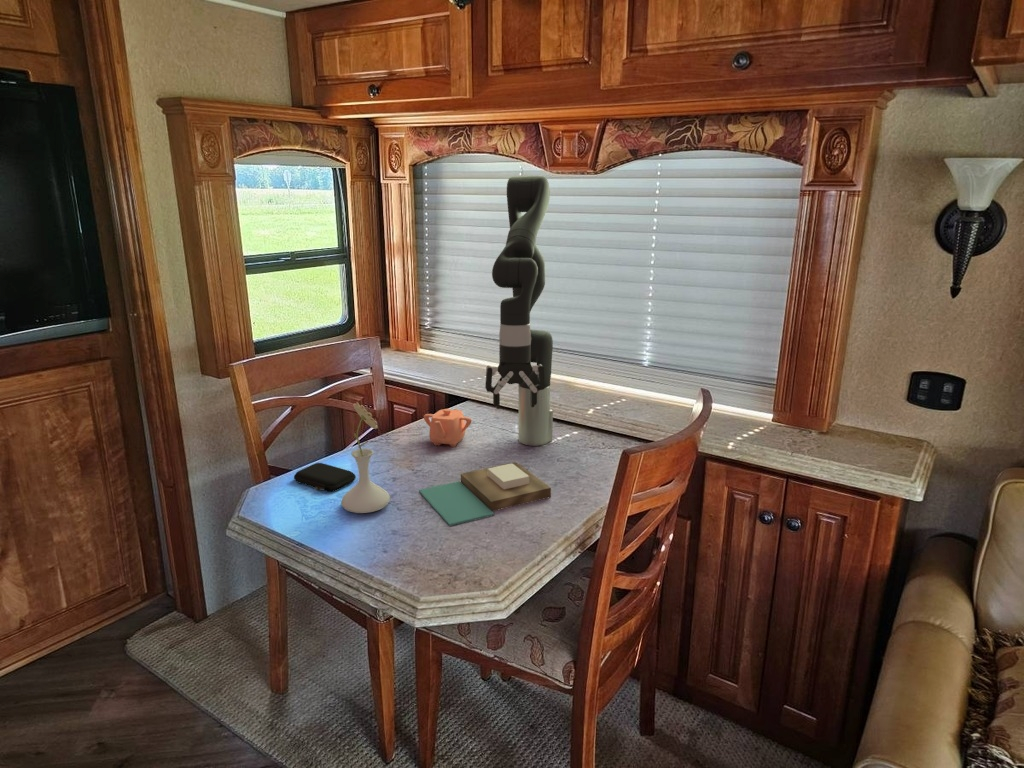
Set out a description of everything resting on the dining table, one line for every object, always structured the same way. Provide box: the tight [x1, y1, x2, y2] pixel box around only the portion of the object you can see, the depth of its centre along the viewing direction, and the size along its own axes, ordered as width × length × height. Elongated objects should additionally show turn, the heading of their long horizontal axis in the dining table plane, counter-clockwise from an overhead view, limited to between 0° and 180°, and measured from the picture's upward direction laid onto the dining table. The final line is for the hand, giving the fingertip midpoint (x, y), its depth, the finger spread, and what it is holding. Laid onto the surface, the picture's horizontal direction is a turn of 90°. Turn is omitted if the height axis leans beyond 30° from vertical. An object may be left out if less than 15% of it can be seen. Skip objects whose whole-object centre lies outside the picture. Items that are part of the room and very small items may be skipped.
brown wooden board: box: [460, 461, 552, 512], centre depth 170 cm, size 16×18×2 cm
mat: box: [418, 480, 495, 527], centre depth 163 cm, size 11×20×1 cm, turn 27°
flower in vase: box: [340, 401, 391, 514], centre depth 159 cm, size 13×11×25 cm
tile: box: [487, 463, 529, 489], centre depth 170 cm, size 7×9×2 cm
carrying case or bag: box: [293, 462, 357, 493], centre depth 175 cm, size 11×3×15 cm
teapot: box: [423, 408, 473, 448], centre depth 200 cm, size 14×12×10 cm
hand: (514, 407), depth 167 cm, fingers open, 8 cm apart
